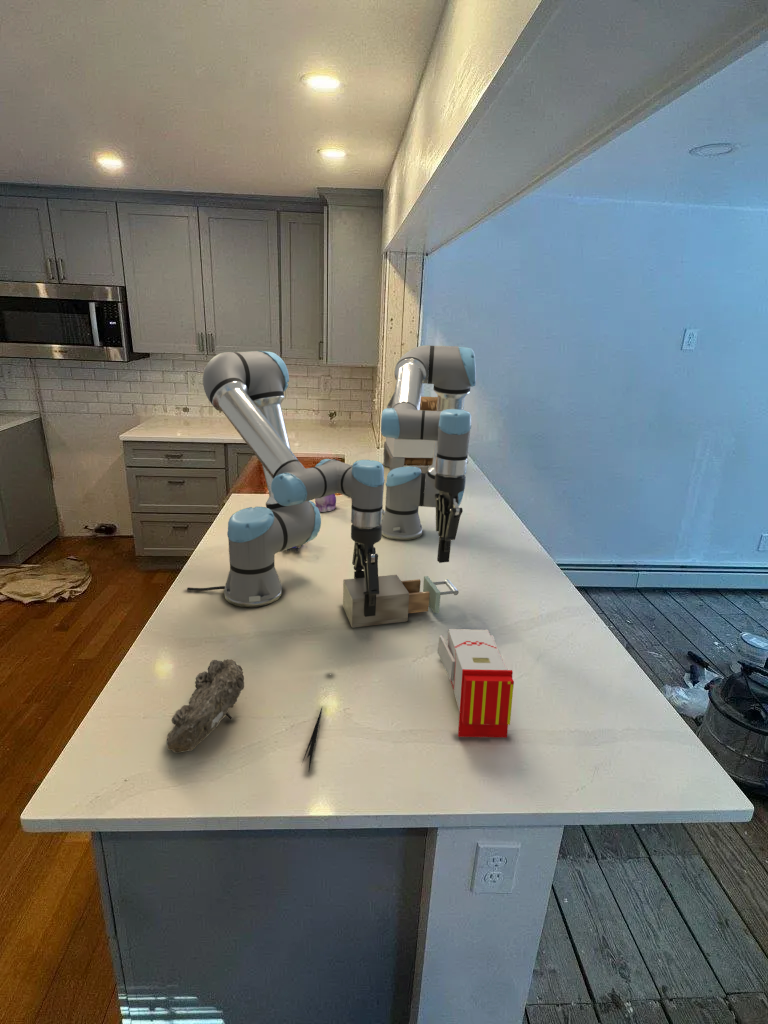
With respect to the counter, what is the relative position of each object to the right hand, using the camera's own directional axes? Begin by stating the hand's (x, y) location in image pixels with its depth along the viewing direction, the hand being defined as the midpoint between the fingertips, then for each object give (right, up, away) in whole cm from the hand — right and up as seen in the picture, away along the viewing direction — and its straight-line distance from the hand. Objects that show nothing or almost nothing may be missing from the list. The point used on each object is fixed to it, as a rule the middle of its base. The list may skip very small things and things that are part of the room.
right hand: (443, 561), depth 147 cm
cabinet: (-18, -14, 0) cm, 22 cm away
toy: (+3, -25, -29) cm, 38 cm away
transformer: (+2, +32, +128) cm, 132 cm away
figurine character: (-45, +2, +39) cm, 59 cm away
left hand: (-20, -11, -2) cm, 23 cm away
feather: (-28, -27, -38) cm, 55 cm away
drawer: (-6, -12, +3) cm, 14 cm away
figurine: (-38, +14, +74) cm, 84 cm away
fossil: (-48, -26, -39) cm, 67 cm away
